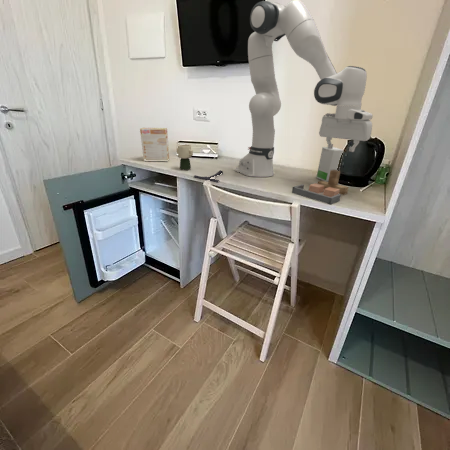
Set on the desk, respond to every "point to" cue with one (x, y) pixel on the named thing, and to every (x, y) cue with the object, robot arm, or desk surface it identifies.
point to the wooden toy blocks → (334, 182)
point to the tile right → (331, 191)
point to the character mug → (184, 156)
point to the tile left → (316, 188)
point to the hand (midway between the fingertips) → (340, 150)
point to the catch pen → (315, 195)
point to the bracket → (209, 177)
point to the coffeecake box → (155, 143)
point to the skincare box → (328, 162)
